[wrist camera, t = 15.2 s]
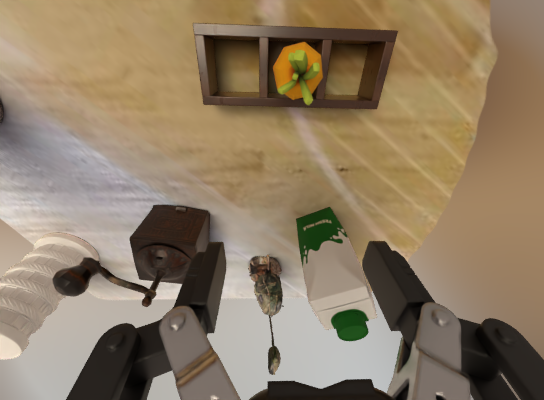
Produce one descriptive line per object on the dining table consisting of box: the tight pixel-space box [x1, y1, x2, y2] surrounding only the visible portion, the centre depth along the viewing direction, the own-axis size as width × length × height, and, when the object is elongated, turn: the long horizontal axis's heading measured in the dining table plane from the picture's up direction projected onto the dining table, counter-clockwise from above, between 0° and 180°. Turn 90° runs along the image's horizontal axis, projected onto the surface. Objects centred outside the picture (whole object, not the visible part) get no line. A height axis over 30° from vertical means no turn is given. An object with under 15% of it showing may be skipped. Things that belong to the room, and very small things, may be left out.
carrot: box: [273, 42, 323, 105], centre depth 23 cm, size 5×5×15 cm
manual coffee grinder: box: [52, 205, 210, 307], centre depth 36 cm, size 16×11×18 cm
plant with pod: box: [248, 255, 283, 375], centre depth 42 cm, size 8×11×20 cm
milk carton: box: [296, 207, 377, 341], centre depth 36 cm, size 9×9×20 cm
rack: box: [193, 23, 398, 109], centre depth 28 cm, size 8×22×5 cm, turn 88°
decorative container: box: [0, 233, 99, 360], centre depth 40 cm, size 12×12×18 cm
